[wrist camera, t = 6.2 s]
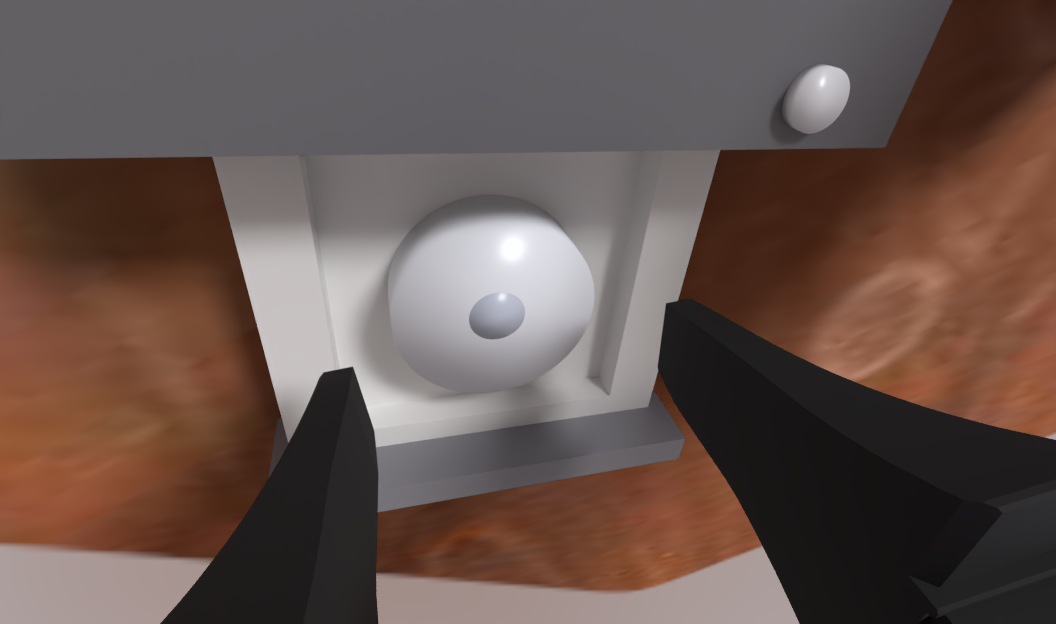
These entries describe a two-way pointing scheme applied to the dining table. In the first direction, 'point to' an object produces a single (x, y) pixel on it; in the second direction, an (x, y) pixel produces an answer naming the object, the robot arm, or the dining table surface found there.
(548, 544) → the dining table surface
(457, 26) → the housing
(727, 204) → the dining table surface
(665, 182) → the tray
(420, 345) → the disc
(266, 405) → the dining table surface
